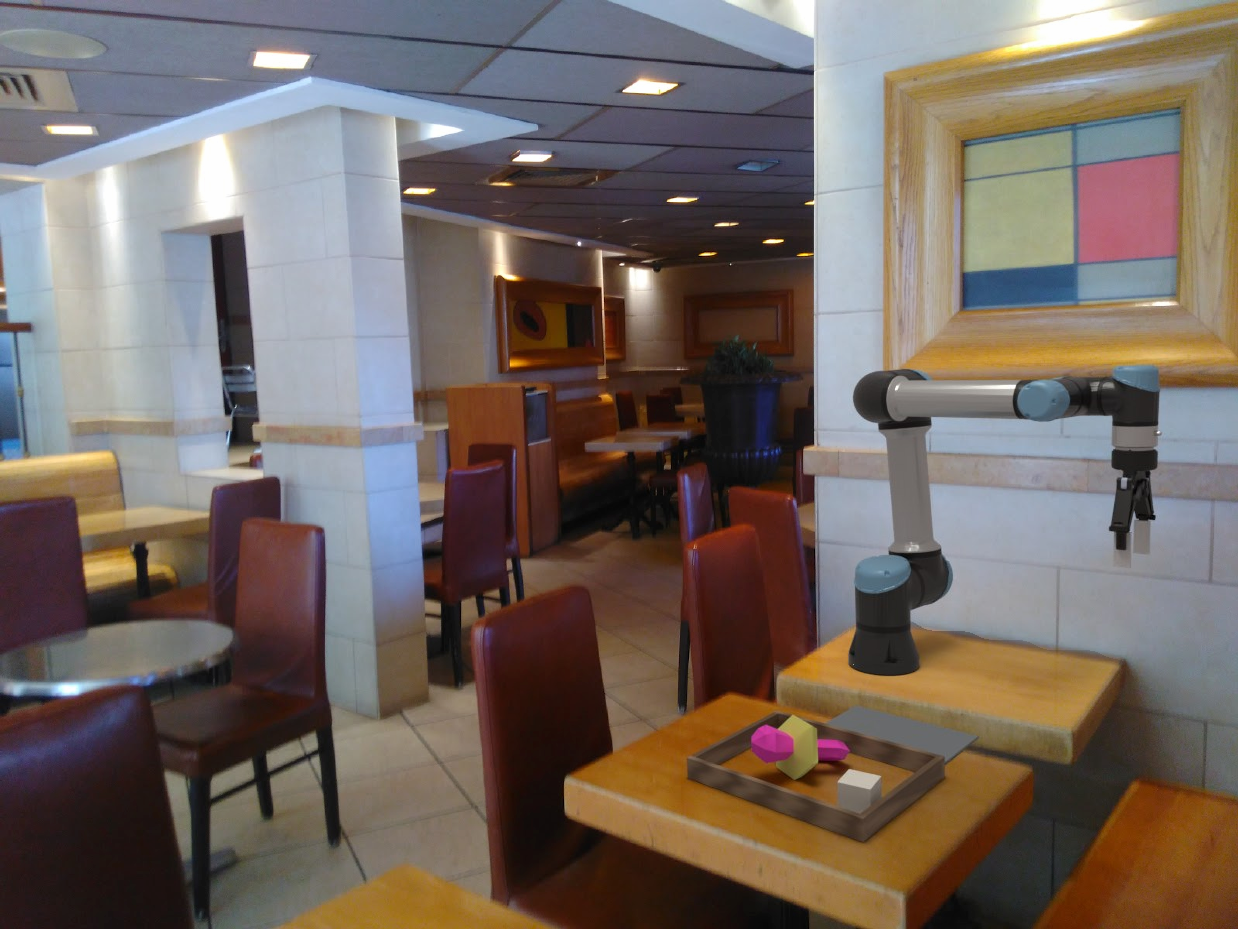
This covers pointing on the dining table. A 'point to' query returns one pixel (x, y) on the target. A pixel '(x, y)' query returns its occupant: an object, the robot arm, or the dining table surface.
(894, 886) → the dining table surface
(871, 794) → the cream block
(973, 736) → the mat
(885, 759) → the brown wooden frame
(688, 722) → the dining table surface
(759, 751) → the toy
